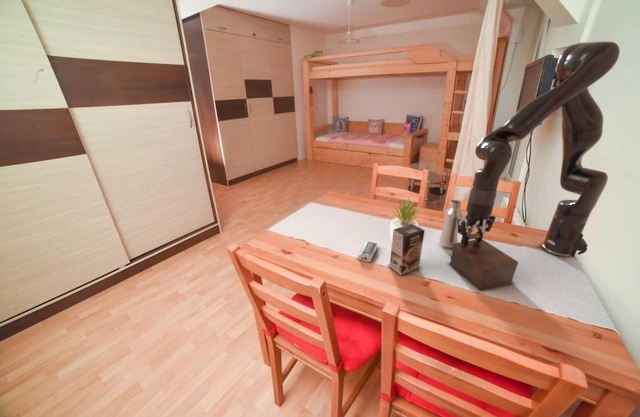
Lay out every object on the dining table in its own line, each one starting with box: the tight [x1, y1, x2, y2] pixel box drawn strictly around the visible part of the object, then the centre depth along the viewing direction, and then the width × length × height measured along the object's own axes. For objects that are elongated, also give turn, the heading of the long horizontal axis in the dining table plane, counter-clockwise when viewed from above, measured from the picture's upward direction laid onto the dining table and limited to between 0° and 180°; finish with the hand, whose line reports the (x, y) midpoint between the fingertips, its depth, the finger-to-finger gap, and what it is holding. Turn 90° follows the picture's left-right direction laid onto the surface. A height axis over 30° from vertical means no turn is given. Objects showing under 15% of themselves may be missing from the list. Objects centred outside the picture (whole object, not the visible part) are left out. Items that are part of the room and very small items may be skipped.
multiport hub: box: [358, 241, 378, 263], centre depth 106 cm, size 4×11×2 cm, turn 155°
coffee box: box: [389, 223, 426, 276], centre depth 95 cm, size 9×6×16 cm
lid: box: [452, 233, 519, 271], centre depth 89 cm, size 15×13×5 cm
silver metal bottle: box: [439, 199, 464, 249], centre depth 106 cm, size 6×7×20 cm
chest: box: [449, 247, 519, 291], centre depth 92 cm, size 15×13×8 cm
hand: (471, 242), depth 95 cm, fingers closed on lid, 5 cm apart
